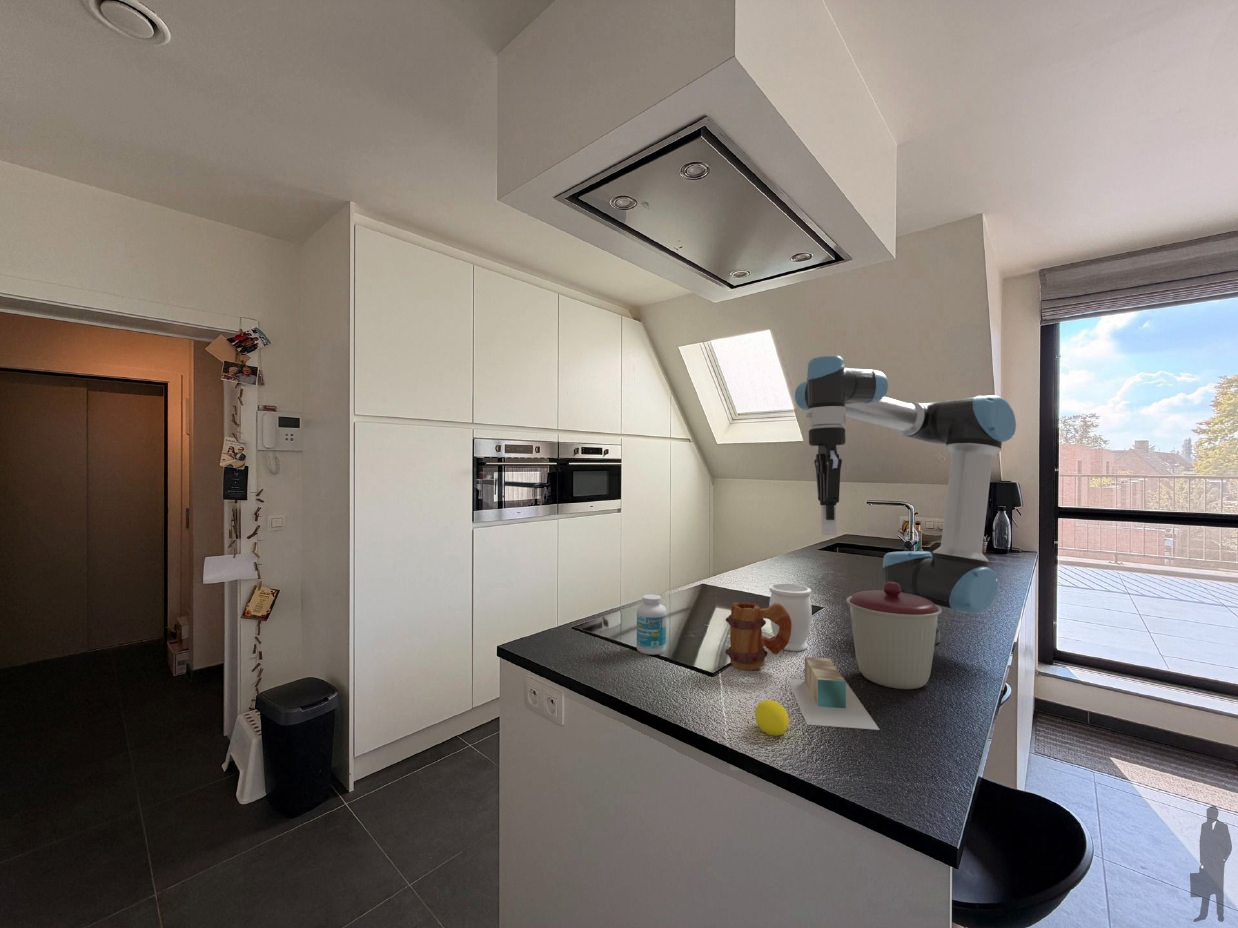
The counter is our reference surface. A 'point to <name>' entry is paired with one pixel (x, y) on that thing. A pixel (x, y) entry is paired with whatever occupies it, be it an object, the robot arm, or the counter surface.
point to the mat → (831, 709)
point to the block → (825, 682)
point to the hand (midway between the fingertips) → (828, 534)
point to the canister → (894, 636)
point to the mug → (755, 634)
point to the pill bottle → (651, 626)
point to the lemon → (771, 717)
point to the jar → (793, 612)
